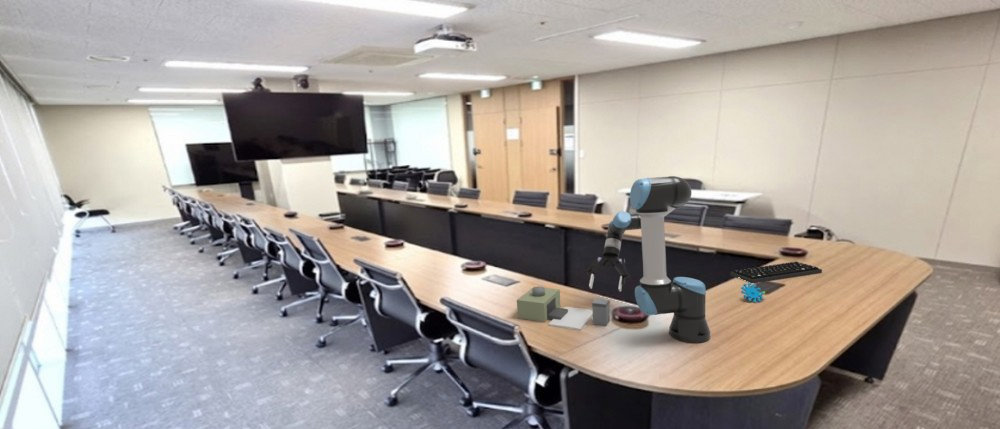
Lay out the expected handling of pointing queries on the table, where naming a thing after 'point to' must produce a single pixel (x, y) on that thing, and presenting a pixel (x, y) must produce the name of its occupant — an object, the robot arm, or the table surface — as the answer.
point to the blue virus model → (752, 292)
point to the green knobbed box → (551, 309)
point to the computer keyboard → (775, 272)
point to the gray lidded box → (601, 312)
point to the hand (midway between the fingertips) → (604, 288)
